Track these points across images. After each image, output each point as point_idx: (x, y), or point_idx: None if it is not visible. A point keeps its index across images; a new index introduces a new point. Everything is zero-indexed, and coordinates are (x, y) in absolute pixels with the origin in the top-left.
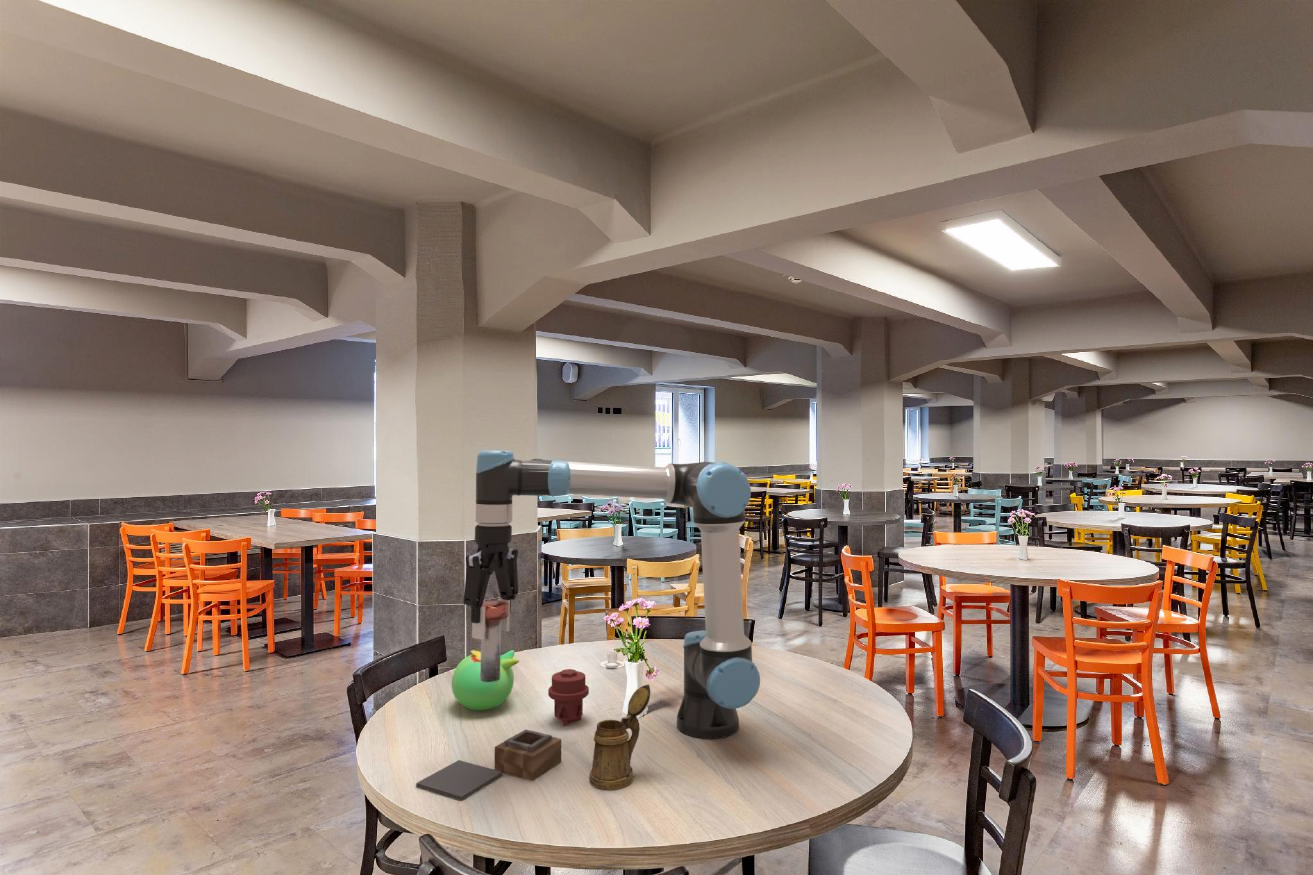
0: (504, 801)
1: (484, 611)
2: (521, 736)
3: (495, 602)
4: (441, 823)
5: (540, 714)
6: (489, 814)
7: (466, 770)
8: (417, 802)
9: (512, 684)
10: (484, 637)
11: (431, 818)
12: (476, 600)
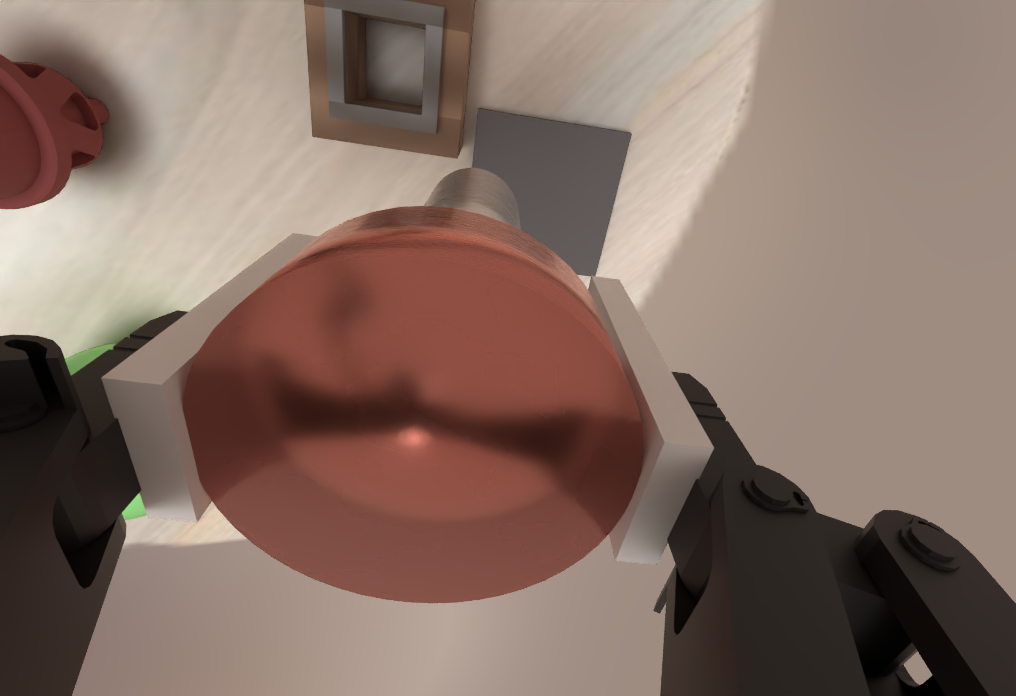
0: (606, 11)
1: (663, 405)
2: (372, 106)
3: (304, 484)
4: (736, 112)
5: (97, 229)
6: (680, 11)
7: None
8: (655, 227)
9: (77, 353)
10: (594, 280)
11: (717, 150)
12: (909, 570)
